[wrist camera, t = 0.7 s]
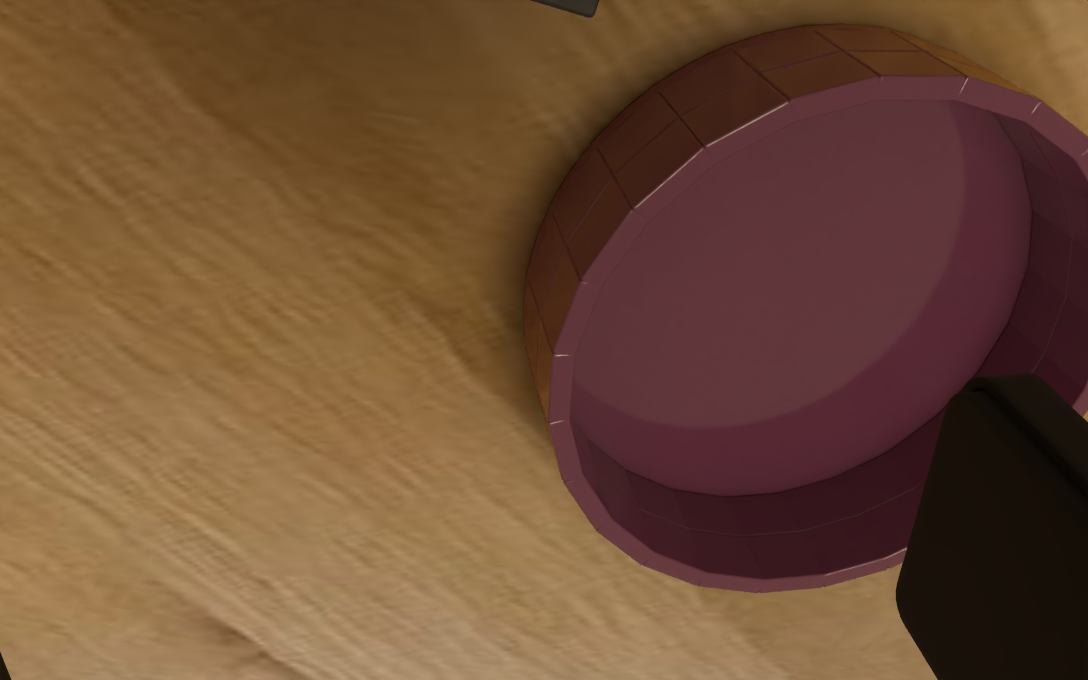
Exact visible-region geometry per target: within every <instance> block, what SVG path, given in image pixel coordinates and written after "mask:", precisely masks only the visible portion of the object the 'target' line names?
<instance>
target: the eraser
mask: <svg viewBox="0 0 1088 680" xmlns="http://www.w3.org/2000/svg"><path fill="white" fill-rule="evenodd" d="M531 1H535V2H538V3H541V4H545V5H548V6H551V7H555V8H558V9H561V10H565V11H568V12H571V13H575V14H578V15H581V16H585V17H588V18H590V17H593V16H594V14H595V11H596V8H597V5H598V3H599V0H531Z"/></svg>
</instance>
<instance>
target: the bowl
mask: <svg viewBox="0 0 1088 680" xmlns="http://www.w3.org/2000/svg"><path fill="white" fill-rule="evenodd" d="M523 304H524V336H525V345H526V346H525V347H526V351H527V355H528V359H529V364H530V367H531V371H532V374H533V378H534V382H535V386H536V389H537V393H538V397H539V401H540V404H541V408H542V411H543V415H544V418H545V422H546V425H547V429H548V432H549V436H550V439H551V443H552V446H553V450H554V453H555V457H556V460H557V464H558V467H559V471H560V474H561V478H562V480H563V483H564V485H565V486H566V487H567V489H568V490H569V492H570V493H571V495H572V496H573V498H574V499H575V501H576V502H577V504H578V505H579V507H580V508H581V510H582V511H583V513H584V514H585V515H586V517H587V518H588V520H589V521H590V523H591V524H592V526H593V527H594V528H595V529H596V531H597V532H598V533H599V534H601V535H602V536H603V537H605V538H606V539H607V540H609V541H610V542H611V543H613V544H614V545H615V546H617V547H618V548H619V549H621V550H622V551H623V552H625V553H626V554H627V555H629V556H630V557H631V558H633V559H634V560H635V561H636V562H638V563H639V564H640V565H643V566H645V567H648V568H651V569H653V570H656V571H658V572H661V573H664V574H666V575H669V576H672V577H674V578H677V579H680V580H682V581H685V582H688V583H690V584H693V585H698V586H699V587H708V588H716V589H725V590H733V591H742V592H750V593H768V592H780V591H791V590H802V589H813V588H822V587H827V586H831V585H834V584H838V583H841V582H845V581H848V580H852V579H856V578H859V577H863V576H866V575H870V574H873V573H877V572H881V571H884V570H887V568H892V567H894V566H896V565H898V564H901V563H903V561H904V557H905V553H906V550H907V546H908V543H909V539H910V536H911V532H912V529H913V525H914V521H915V518H916V514H917V511H918V507H919V504H920V500H921V496H922V493H923V489H924V486H925V482H926V479H927V475H928V472H929V468H930V464H931V461H932V457H933V454H934V450H935V447H936V443H937V440H938V436H939V432H940V429H941V425H942V422H943V418H944V415H945V411H946V407H947V405H948V402H949V400H950V399H951V398H952V397H953V395H955V394H958V393H961V392H962V389H963V387H964V385H965V384H966V383H967V382H968V381H969V380H970V379H972V378H975V377H980V376H991V375H1003V374H1014V373H1025V372H1027V373H1033V374H1036V375H1037V376H1039V377H1040V378H1042V379H1043V380H1044V381H1045V382H1046V383H1047V384H1048V385H1049V386H1050V387H1051V388H1053V389H1054V390H1055V391H1056V392H1057V393H1058V394H1059V395H1060V396H1061V397H1062V398H1063V399H1064V400H1065V401H1066V402H1067V403H1068V404H1069V405H1070V406H1071V407H1072V408H1073V409H1074V410H1075V411H1076V412H1078V413H1079V414H1080V415H1081V416H1082V417H1083V416H1084V415H1085V413H1086V412H1087V411H1088V136H1087V135H1085V134H1084V133H1083V132H1082V131H1080V130H1079V129H1078V128H1077V127H1075V126H1074V125H1073V124H1071V123H1070V122H1069V121H1068V120H1066V119H1065V118H1064V117H1063V116H1061V115H1060V114H1059V113H1057V112H1056V111H1055V110H1054V109H1052V108H1051V107H1050V106H1049V105H1047V104H1046V103H1045V102H1043V101H1042V100H1041V99H1039V98H1037V97H1035V96H1034V95H1032V94H1030V93H1028V92H1026V91H1025V90H1023V89H1021V88H1019V87H1018V86H1016V85H1014V84H1012V83H1010V82H1009V81H1007V80H1005V79H1003V78H1001V77H1000V76H998V75H996V74H994V73H993V72H991V71H989V70H987V69H985V68H984V67H982V66H980V65H978V64H976V63H975V62H973V61H971V60H969V59H968V58H966V57H964V56H962V55H960V54H958V53H957V52H955V51H952V50H949V49H946V48H943V47H940V46H938V45H935V44H933V43H930V42H928V41H926V40H923V39H921V38H919V37H916V36H914V35H910V34H906V33H902V32H898V31H893V30H889V29H885V28H881V27H873V26H861V25H850V24H832V25H814V26H802V27H797V28H792V29H787V30H781V31H776V32H771V33H766V34H763V35H759V36H756V37H753V38H750V39H747V40H744V41H741V42H738V43H735V44H732V45H729V46H726V47H724V48H722V49H720V50H718V51H716V52H714V53H711V54H709V55H707V56H705V57H703V58H701V59H699V60H697V61H695V62H692V63H690V64H688V65H687V66H685V67H684V68H682V69H680V70H679V71H677V72H676V73H674V74H672V75H671V76H669V77H668V78H666V79H664V80H663V81H661V82H660V83H658V84H656V85H655V86H653V87H652V88H651V89H650V90H648V91H647V92H646V93H645V94H643V95H642V96H641V97H640V98H639V99H637V100H636V101H635V102H634V103H632V104H631V105H630V106H629V107H627V108H626V109H625V110H624V111H622V112H621V113H620V114H619V115H618V116H617V117H616V118H615V119H614V121H613V122H612V123H611V124H610V125H609V126H608V127H607V128H606V129H605V130H604V131H603V132H602V133H601V134H600V135H599V136H598V137H597V138H596V139H595V140H594V141H593V142H592V144H591V145H590V146H589V148H588V149H587V150H586V152H585V153H584V154H583V155H582V157H581V158H580V159H579V161H578V162H577V163H576V165H575V166H574V167H573V168H572V170H571V171H570V173H569V174H568V176H567V178H566V179H565V181H564V183H563V184H562V186H561V188H560V190H559V191H558V193H557V195H556V196H555V198H554V200H553V202H552V203H551V205H550V207H549V210H548V212H547V214H546V217H545V219H544V222H543V224H542V226H541V229H540V231H539V233H538V236H537V238H536V242H535V246H534V249H533V253H532V256H531V260H530V264H529V267H528V271H527V279H526V287H525V295H524V303H523Z"/></svg>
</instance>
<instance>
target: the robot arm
mask: <svg viewBox="0 0 1088 680" xmlns="http://www.w3.org/2000/svg"><path fill="white" fill-rule="evenodd" d="M896 602H897V607H898V611H899V614H900V617H901V619H902V621H903V623H904V625H905V627H906V628H907V630H908V632H909V633H910V635H911V637H912V638H913V640H914V641H915V643H916V645H917V646H918V648H919V650H920V651H921V653H922V654H923V656H924V658H925V659H926V661H927V663H928V664H929V666H930V668H931V669H932V671H933V672H934V674H935V676H936V677H937V679H938V680H1088V422H1087V421H1086V420H1085V419H1084V418H1083V417H1082V416H1081V415H1080V414H1079V413H1078V412H1076V411H1075V410H1074V409H1073V408H1072V407H1071V406H1070V405H1069V404H1068V403H1067V402H1066V401H1065V400H1064V399H1063V398H1062V397H1061V396H1060V395H1059V394H1058V393H1057V392H1056V391H1055V390H1054V389H1053V388H1051V387H1050V386H1049V385H1048V384H1047V383H1046V382H1045V381H1044V380H1043V379H1042V378H1040V377H1039V376H1037V375H1036V374H1033V373H1027V372H1025V373H1014V374H1003V375H991V376H980V377H975V378H972V379H970V380H969V381H968V382H967V383H966V384H965V385H964V387H963V389H962V392H961V393H958V394H955V395H953V397H952V398H951V399H950V400H949V402H948V405H947V407H946V411H945V415H944V418H943V422H942V425H941V429H940V432H939V436H938V440H937V443H936V447H935V450H934V454H933V457H932V461H931V464H930V468H929V472H928V475H927V479H926V482H925V486H924V489H923V493H922V496H921V500H920V504H919V507H918V511H917V514H916V518H915V521H914V525H913V529H912V532H911V536H910V539H909V543H908V546H907V550H906V553H905V557H904V561H903V564H902V568H901V571H900V575H899V578H898V582H897V587H896ZM0 680H11V678H10V675H9V673H8V670H7V668H6V665H5V663H4V660H3V658H2V655H1V653H0Z"/></svg>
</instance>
